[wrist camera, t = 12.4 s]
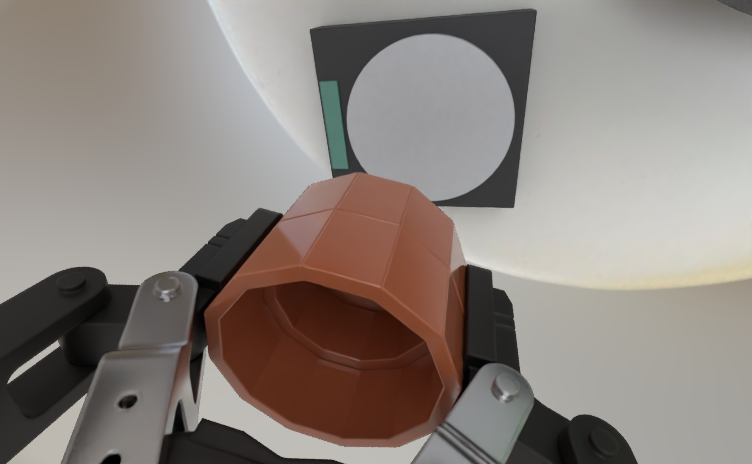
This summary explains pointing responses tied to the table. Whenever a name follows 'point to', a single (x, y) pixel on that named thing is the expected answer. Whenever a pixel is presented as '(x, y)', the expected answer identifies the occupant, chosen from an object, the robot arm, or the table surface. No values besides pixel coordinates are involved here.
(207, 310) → the small bowl
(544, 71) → the table surface
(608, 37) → the table surface
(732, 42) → the table surface
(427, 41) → the scale
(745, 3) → the bowl
